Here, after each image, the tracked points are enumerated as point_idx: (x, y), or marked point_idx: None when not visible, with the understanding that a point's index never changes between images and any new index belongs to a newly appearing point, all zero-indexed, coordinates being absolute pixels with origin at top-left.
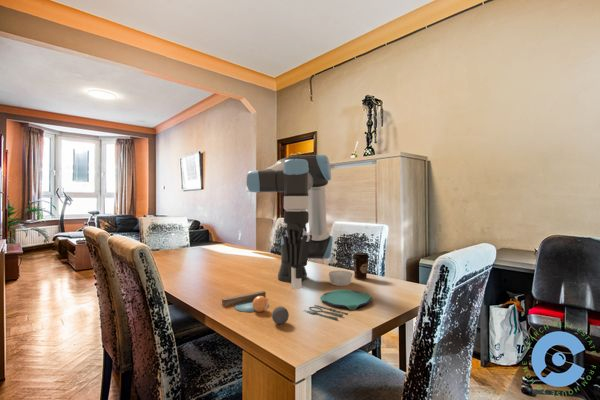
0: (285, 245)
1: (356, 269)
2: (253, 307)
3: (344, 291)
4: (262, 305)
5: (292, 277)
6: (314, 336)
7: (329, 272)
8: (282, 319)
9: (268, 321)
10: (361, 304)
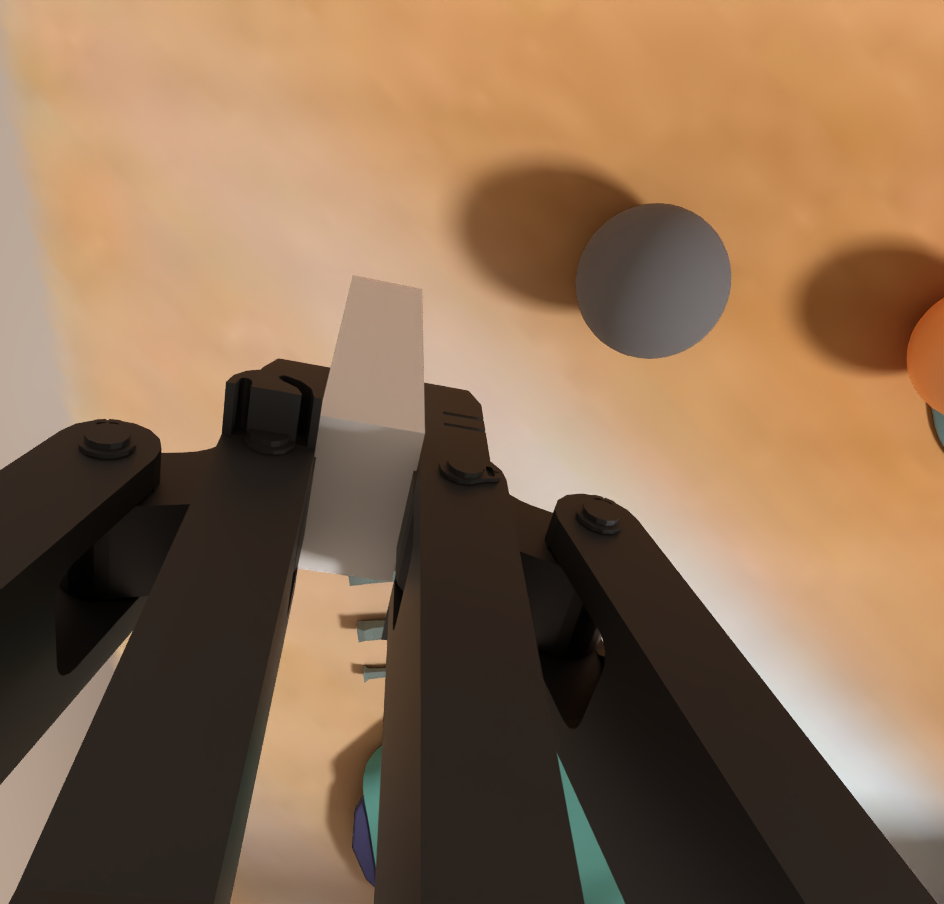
0: (846, 878)
1: None
2: None
3: (598, 893)
4: (935, 330)
5: (390, 346)
6: (266, 269)
7: None
8: (588, 243)
9: (748, 227)
10: (367, 806)
